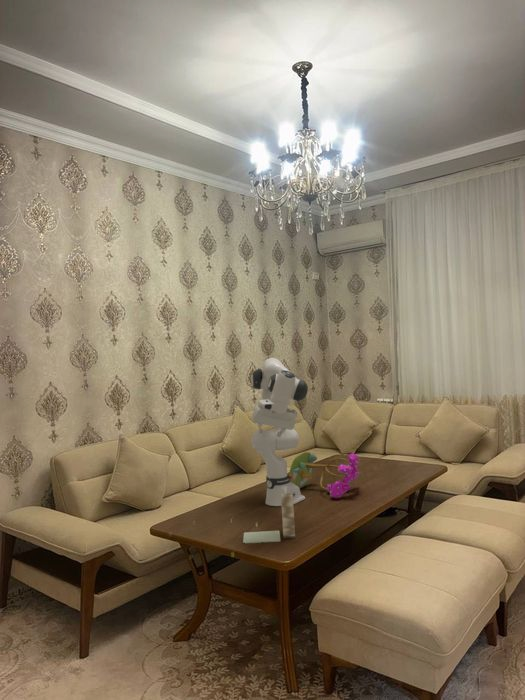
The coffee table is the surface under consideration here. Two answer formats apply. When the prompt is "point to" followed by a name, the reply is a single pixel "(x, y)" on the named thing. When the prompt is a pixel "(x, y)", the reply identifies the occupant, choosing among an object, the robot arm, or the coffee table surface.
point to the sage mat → (261, 537)
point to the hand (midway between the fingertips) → (269, 434)
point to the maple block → (288, 515)
